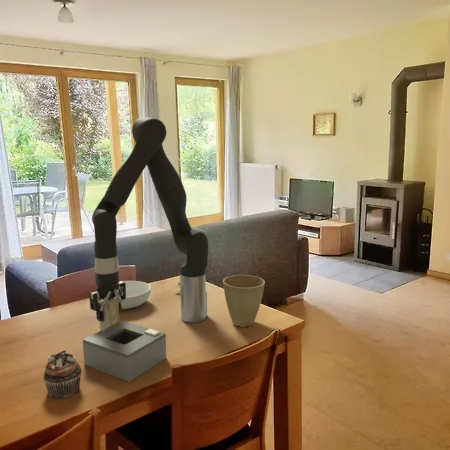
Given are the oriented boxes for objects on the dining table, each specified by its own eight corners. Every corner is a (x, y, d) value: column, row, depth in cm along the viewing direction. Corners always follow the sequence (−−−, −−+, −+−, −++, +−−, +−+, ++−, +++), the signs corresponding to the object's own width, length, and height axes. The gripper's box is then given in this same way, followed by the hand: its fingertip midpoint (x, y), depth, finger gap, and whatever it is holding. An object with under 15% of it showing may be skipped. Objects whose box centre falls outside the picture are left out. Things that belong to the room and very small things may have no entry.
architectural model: (185, 296, 189) (184, 279, 187) (173, 293, 193) (172, 276, 191) (190, 294, 192) (190, 277, 190) (178, 291, 196) (178, 274, 194)
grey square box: (123, 343, 145) (122, 318, 144) (166, 358, 136) (165, 331, 134) (84, 364, 132) (82, 337, 130) (128, 382, 123) (127, 353, 121)
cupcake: (36, 393, 117) (33, 358, 115) (66, 376, 125) (64, 343, 123) (60, 404, 112) (57, 368, 110) (90, 386, 120) (88, 352, 118)
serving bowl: (127, 292, 193) (126, 277, 191) (162, 302, 181) (161, 286, 179) (87, 307, 176) (85, 290, 175) (122, 319, 164) (121, 302, 163)
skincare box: (112, 338, 146) (110, 303, 144) (100, 337, 147) (97, 302, 144) (120, 330, 152) (118, 296, 150) (108, 329, 153) (106, 295, 151)
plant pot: (253, 335, 151) (253, 290, 148) (215, 326, 158) (215, 283, 155) (270, 319, 164) (271, 278, 161) (235, 312, 171) (235, 272, 168)
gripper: (97, 277, 137) (101, 327, 140) (131, 265, 149) (133, 312, 152) (81, 273, 141) (84, 322, 144) (114, 262, 153) (117, 307, 156)
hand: (109, 316), depth 148 cm, fingers closed on skincare box, 7 cm apart
